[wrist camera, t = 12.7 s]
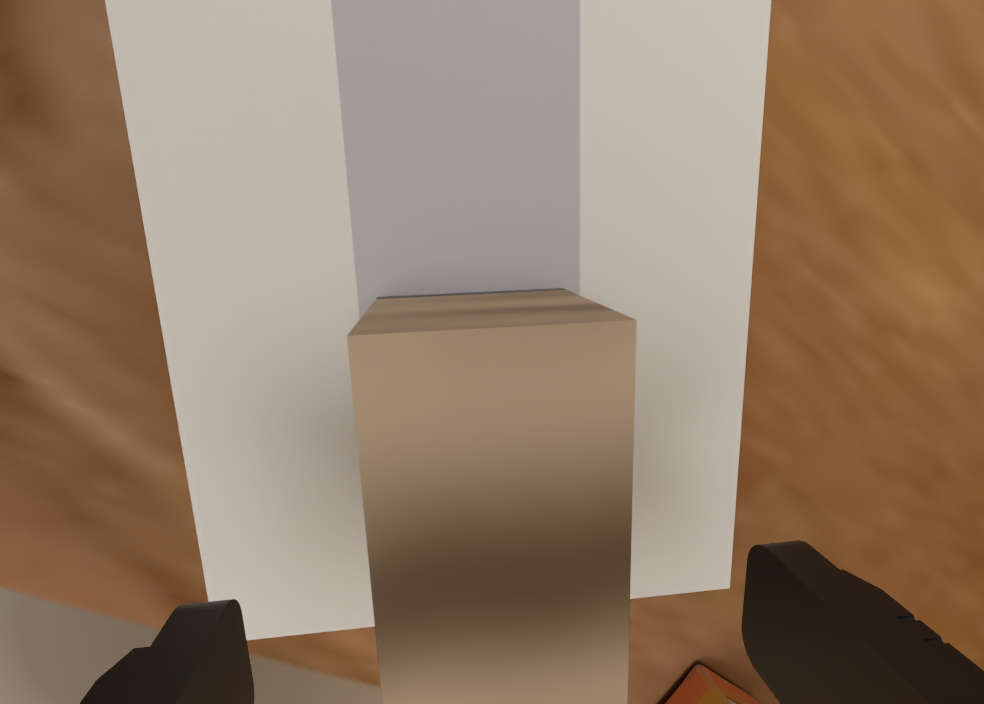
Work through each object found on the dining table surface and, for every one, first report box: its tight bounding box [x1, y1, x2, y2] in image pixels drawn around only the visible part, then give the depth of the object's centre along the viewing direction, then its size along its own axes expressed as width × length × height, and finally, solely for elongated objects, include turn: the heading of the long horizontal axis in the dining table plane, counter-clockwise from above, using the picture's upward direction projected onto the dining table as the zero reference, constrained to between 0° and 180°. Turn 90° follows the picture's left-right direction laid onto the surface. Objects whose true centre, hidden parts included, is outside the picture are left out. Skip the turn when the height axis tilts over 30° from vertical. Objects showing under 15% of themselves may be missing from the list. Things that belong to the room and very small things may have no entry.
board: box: [105, 0, 771, 640], centre depth 15 cm, size 26×16×1 cm, turn 2°
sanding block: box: [347, 288, 637, 704], centre depth 13 cm, size 9×5×6 cm, turn 2°
